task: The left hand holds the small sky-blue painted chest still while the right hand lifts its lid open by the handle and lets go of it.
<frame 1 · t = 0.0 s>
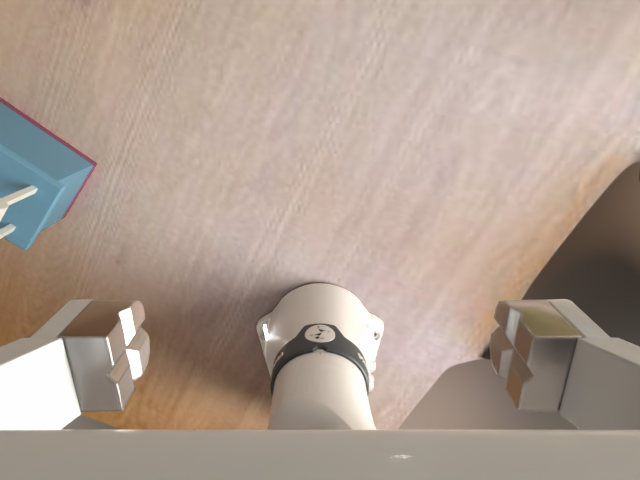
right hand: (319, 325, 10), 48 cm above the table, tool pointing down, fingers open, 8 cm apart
chest: (28, 156, 57), on the table
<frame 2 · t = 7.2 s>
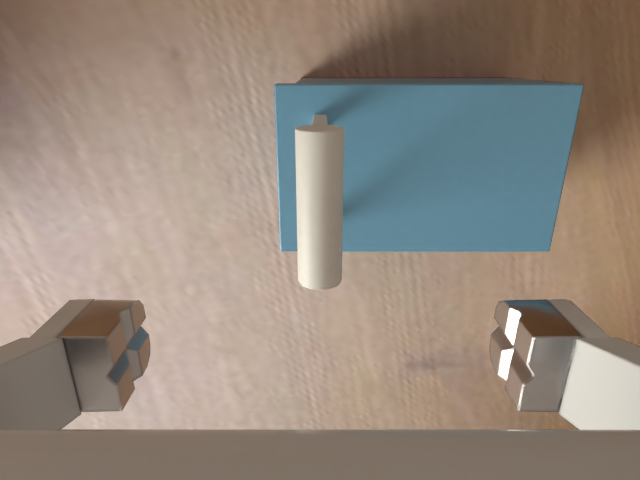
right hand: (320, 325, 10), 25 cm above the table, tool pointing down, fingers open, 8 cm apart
chest: (399, 142, 34), on the table
lid: (434, 188, 21), point 13 cm above the table, hinge at 0.0°
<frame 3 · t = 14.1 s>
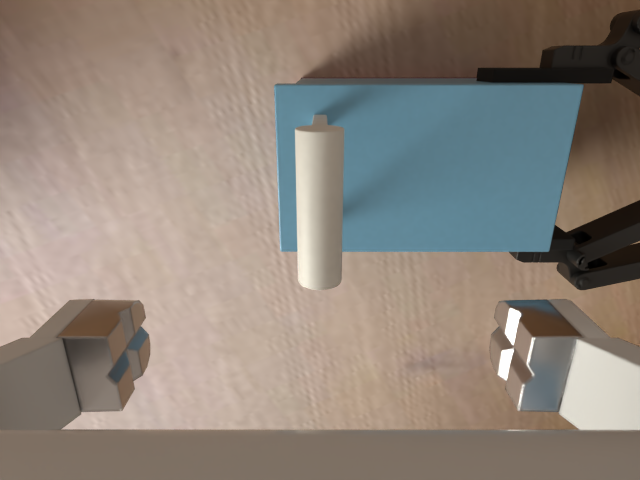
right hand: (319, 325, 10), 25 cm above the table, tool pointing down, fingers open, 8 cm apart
left hand: (473, 161, 27), fingers closed on chest, 9 cm apart
chest: (399, 142, 34), on the table, touching left hand
lid: (434, 189, 21), point 13 cm above the table, hinge at 0.0°
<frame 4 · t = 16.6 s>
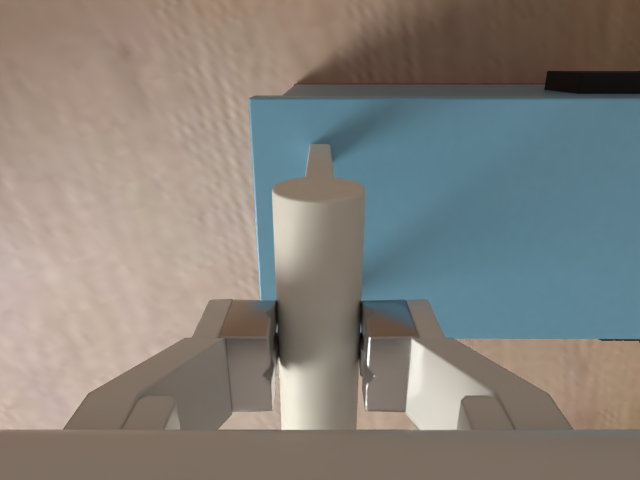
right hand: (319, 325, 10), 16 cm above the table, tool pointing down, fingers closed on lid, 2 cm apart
chest: (424, 168, 26), on the table, touching left hand
lid: (504, 267, 13), point 13 cm above the table, hinge at -0.1°, touching right hand
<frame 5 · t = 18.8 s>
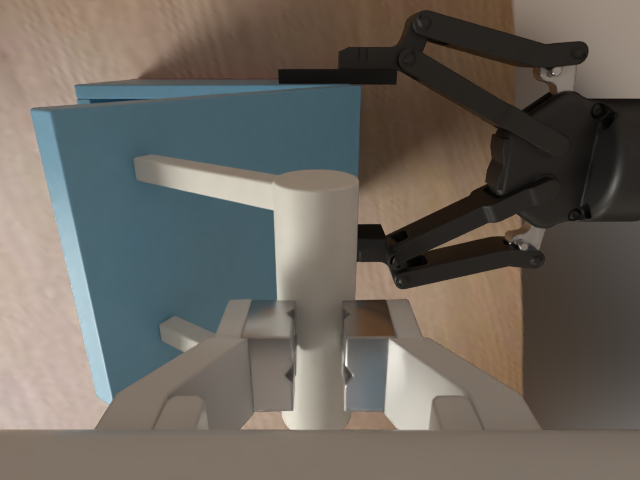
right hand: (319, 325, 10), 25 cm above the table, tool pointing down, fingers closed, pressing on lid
left hand: (282, 162, 27), fingers closed on chest, 9 cm apart
chest: (243, 143, 34), on the table, touching left hand
lid: (328, 223, 17), point 18 cm above the table, hinge at 55.3°, touching right hand
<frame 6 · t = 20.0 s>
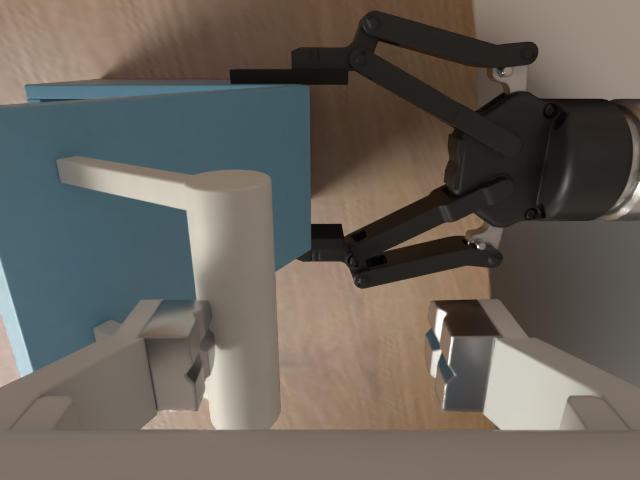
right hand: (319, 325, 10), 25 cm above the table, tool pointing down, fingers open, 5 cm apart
left hand: (239, 162, 28), fingers closed on chest, 9 cm apart
chest: (207, 143, 34), on the table, touching left hand
lid: (269, 222, 17), point 18 cm above the table, hinge at 57.7°, touching right hand
when the left hand's fingers open (7 cm above the table, at t = 23.2 s): chest stays where it is, on the table.
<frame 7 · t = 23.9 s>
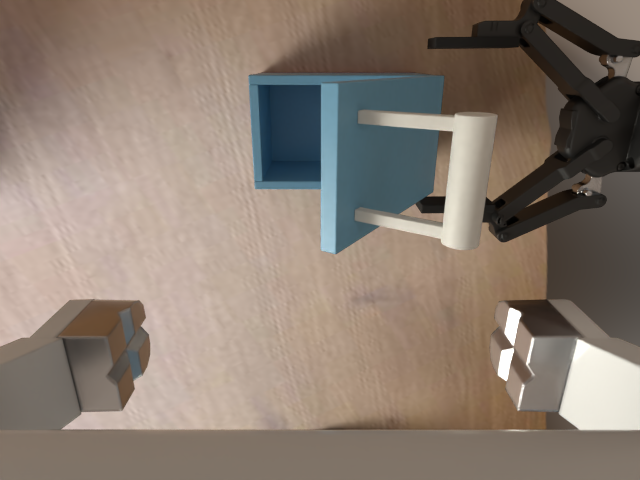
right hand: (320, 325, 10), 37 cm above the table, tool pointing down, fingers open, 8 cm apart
left hand: (424, 129, 38), fingers open, 13 cm apart
chest: (337, 121, 45), on the table
lid: (442, 156, 28), point 18 cm above the table, hinge at 56.6°
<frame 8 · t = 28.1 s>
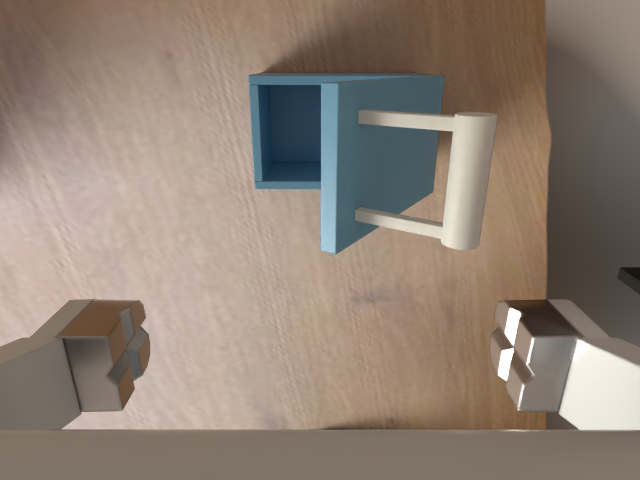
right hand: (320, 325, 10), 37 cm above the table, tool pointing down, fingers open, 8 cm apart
chest: (337, 121, 45), on the table
lid: (442, 157, 28), point 18 cm above the table, hinge at 56.6°
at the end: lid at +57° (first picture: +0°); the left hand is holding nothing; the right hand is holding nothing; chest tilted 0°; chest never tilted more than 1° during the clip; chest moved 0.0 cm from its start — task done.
